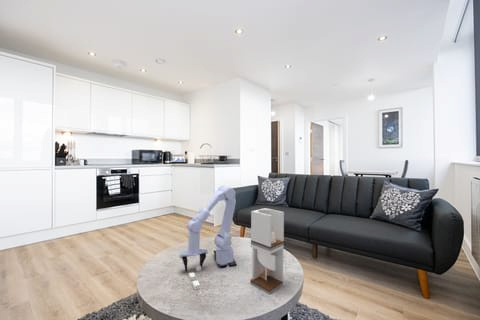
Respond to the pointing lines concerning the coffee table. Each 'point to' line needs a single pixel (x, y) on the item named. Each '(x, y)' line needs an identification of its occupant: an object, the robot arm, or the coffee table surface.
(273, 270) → the white wooden shelf tower
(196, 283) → the switch
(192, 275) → the switch
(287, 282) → the coffee table surface
